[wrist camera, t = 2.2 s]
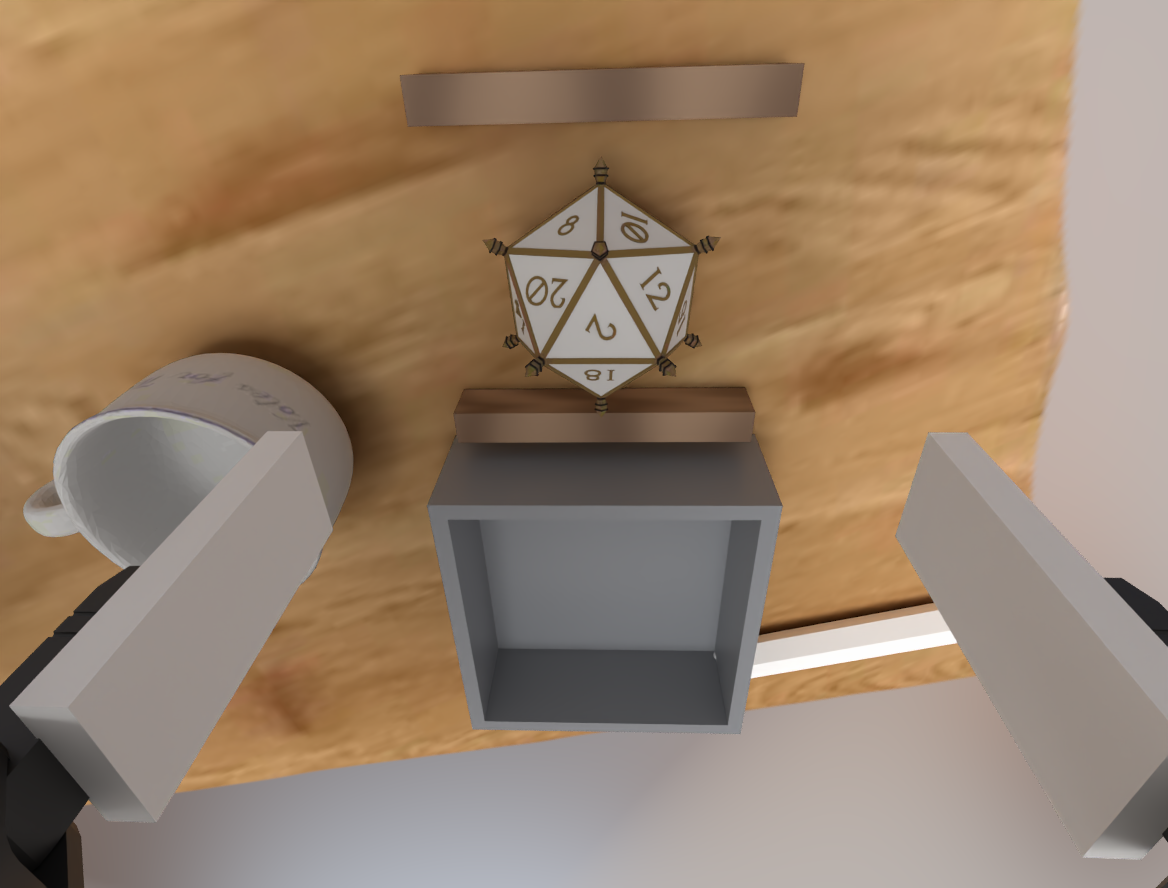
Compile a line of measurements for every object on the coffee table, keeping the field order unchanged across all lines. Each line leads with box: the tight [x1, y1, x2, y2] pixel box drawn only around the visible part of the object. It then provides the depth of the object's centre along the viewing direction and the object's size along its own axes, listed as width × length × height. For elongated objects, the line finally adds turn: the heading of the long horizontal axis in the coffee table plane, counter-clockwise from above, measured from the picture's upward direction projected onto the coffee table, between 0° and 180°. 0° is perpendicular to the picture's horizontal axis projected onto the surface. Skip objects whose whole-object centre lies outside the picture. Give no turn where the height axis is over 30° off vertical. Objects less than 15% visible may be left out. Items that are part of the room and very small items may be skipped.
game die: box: [483, 157, 721, 418], centre depth 24 cm, size 9×8×10 cm
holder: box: [400, 63, 804, 443], centre depth 26 cm, size 14×15×2 cm
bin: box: [427, 434, 782, 734], centre depth 34 cm, size 16×17×6 cm
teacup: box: [23, 353, 354, 585], centre depth 29 cm, size 14×11×8 cm
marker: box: [713, 603, 957, 678], centre depth 38 cm, size 3×2×16 cm
